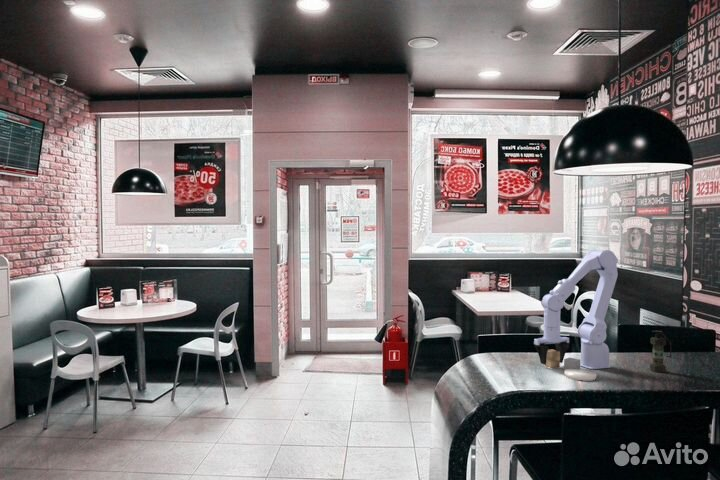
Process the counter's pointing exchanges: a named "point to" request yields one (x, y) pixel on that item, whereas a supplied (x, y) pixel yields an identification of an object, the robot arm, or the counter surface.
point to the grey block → (571, 363)
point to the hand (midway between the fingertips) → (551, 362)
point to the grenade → (658, 351)
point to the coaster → (580, 374)
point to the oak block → (553, 359)
